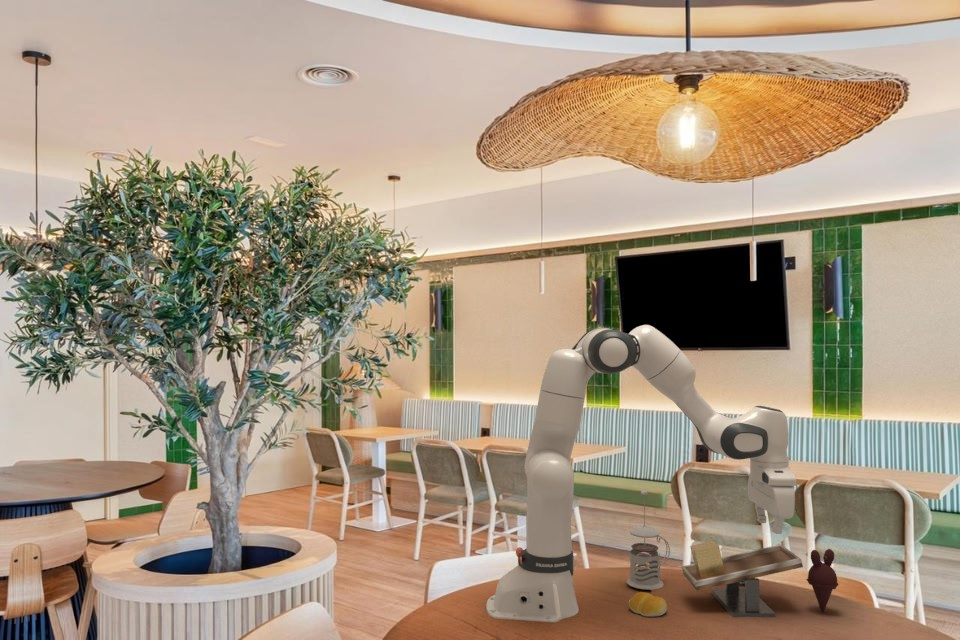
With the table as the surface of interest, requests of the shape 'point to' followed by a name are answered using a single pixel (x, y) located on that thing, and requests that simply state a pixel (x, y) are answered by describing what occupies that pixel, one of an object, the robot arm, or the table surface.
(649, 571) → the french press
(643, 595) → the bread roll
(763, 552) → the balance beam
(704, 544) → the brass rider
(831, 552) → the icecream
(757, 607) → the pivot stand
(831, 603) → the table surface
